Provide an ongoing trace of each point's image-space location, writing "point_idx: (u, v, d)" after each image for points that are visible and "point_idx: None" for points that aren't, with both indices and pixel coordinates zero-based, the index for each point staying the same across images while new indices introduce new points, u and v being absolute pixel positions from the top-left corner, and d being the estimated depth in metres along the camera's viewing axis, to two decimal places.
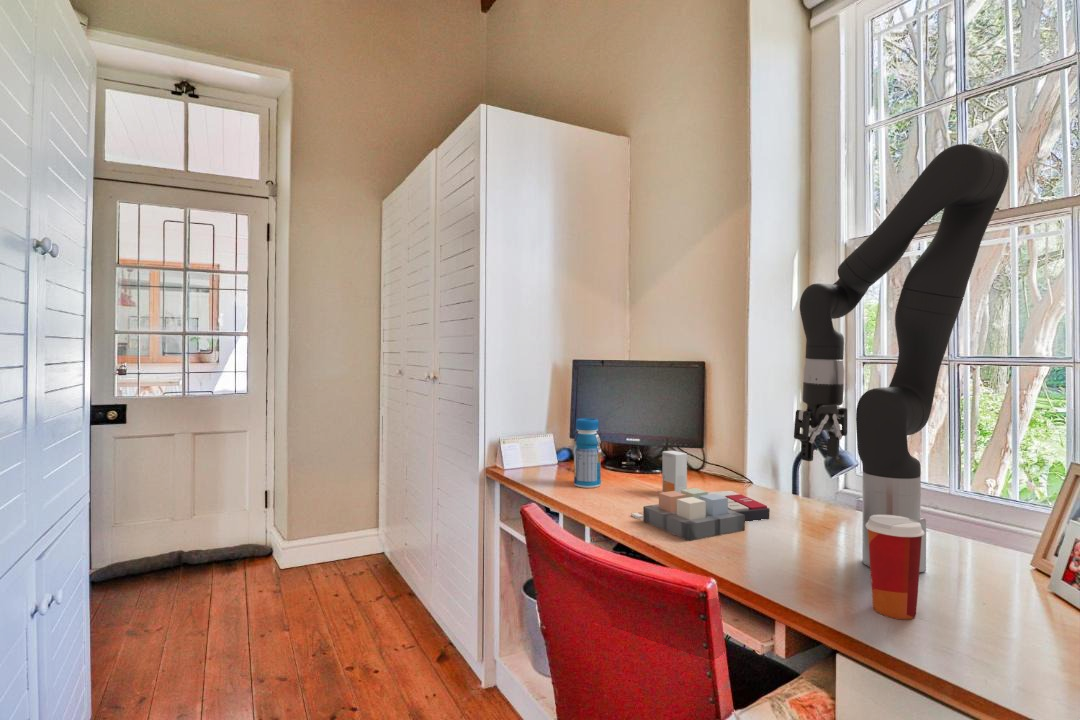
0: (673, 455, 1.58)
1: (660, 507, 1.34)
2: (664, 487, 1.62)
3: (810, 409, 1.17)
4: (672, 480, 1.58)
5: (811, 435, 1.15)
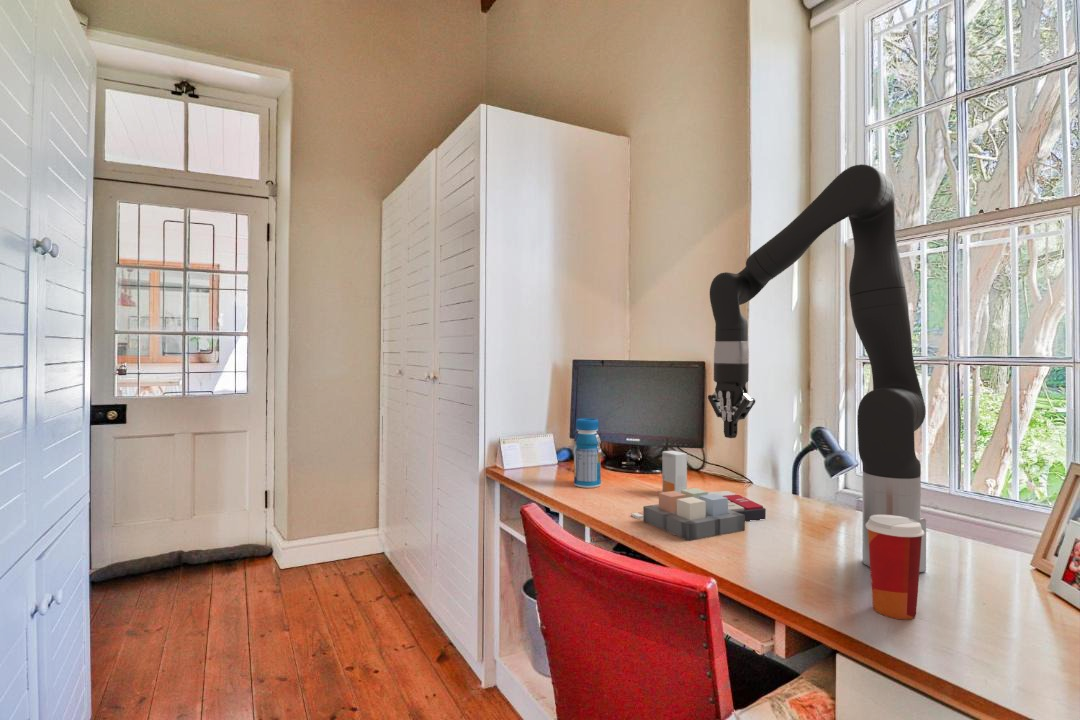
0: (673, 455, 1.58)
1: (660, 507, 1.34)
2: (664, 487, 1.62)
3: (742, 387, 1.27)
4: (672, 480, 1.58)
5: None
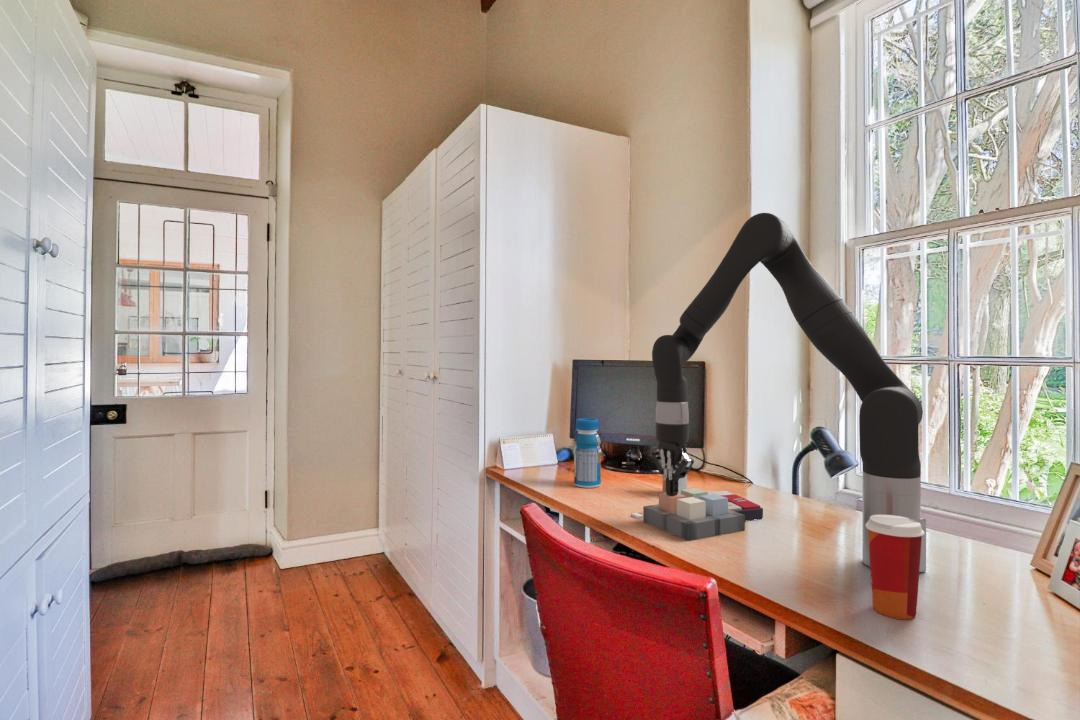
0: None
1: (660, 508, 1.34)
2: (664, 487, 1.62)
3: (682, 447, 1.30)
4: None
5: None
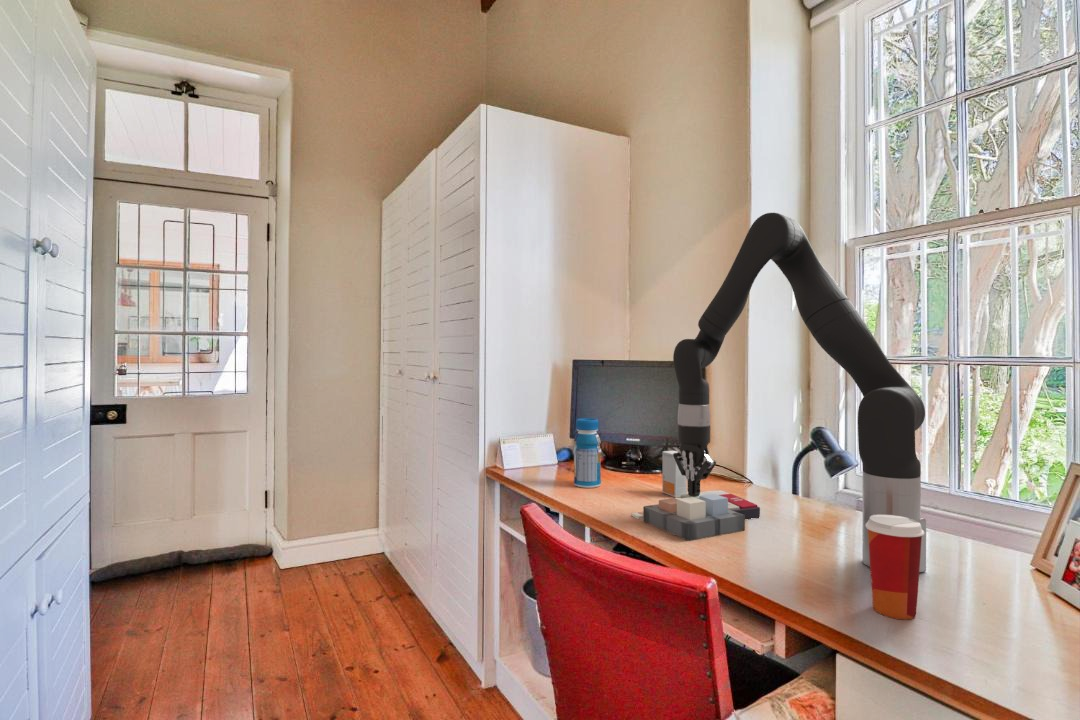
0: None
1: None
2: (664, 487, 1.62)
3: (704, 449, 1.33)
4: (672, 480, 1.58)
5: None
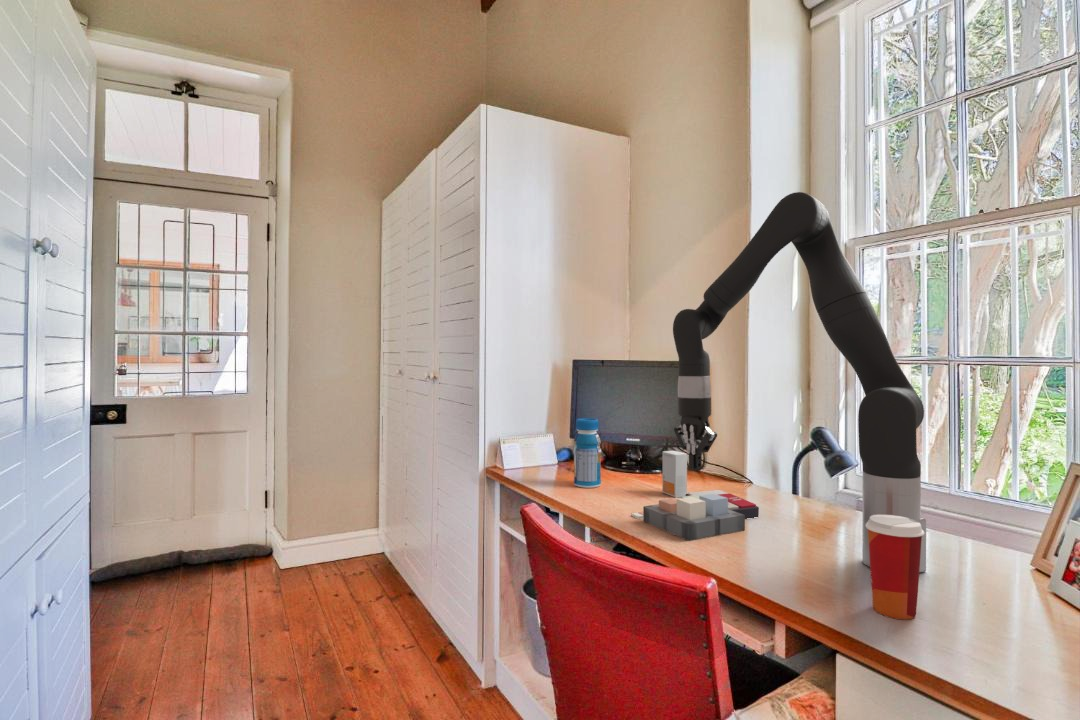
0: (673, 455, 1.58)
1: None
2: (664, 487, 1.62)
3: (705, 421, 1.29)
4: (672, 480, 1.58)
5: None
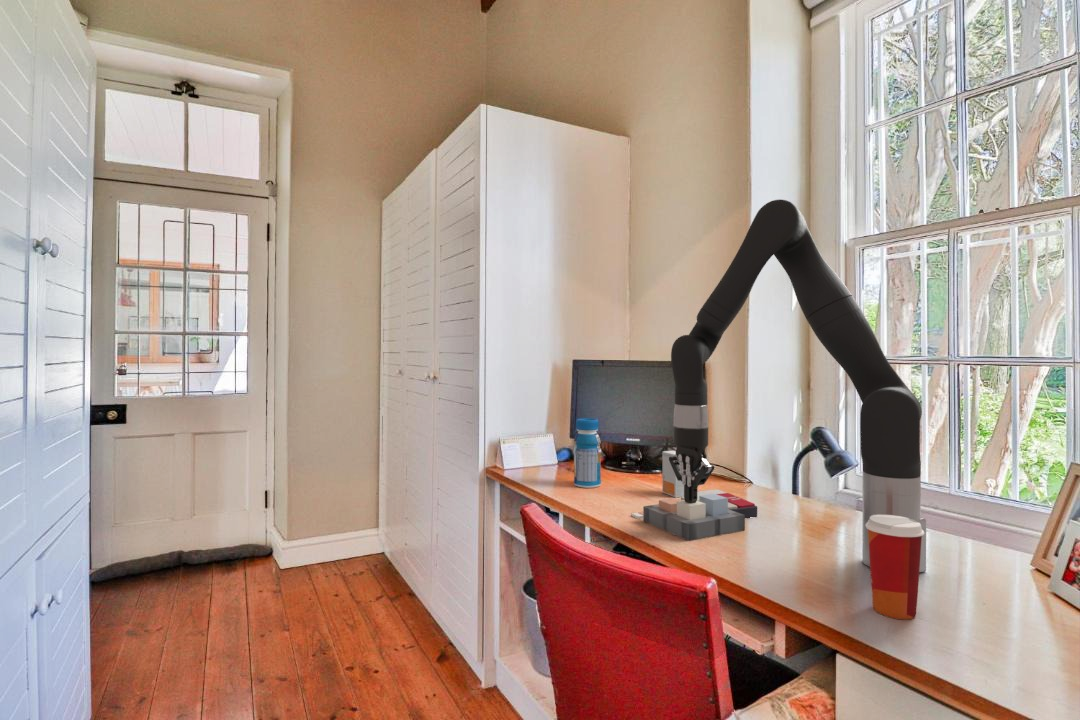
0: (673, 455, 1.58)
1: None
2: (664, 487, 1.62)
3: (701, 453, 1.24)
4: (672, 480, 1.58)
5: None
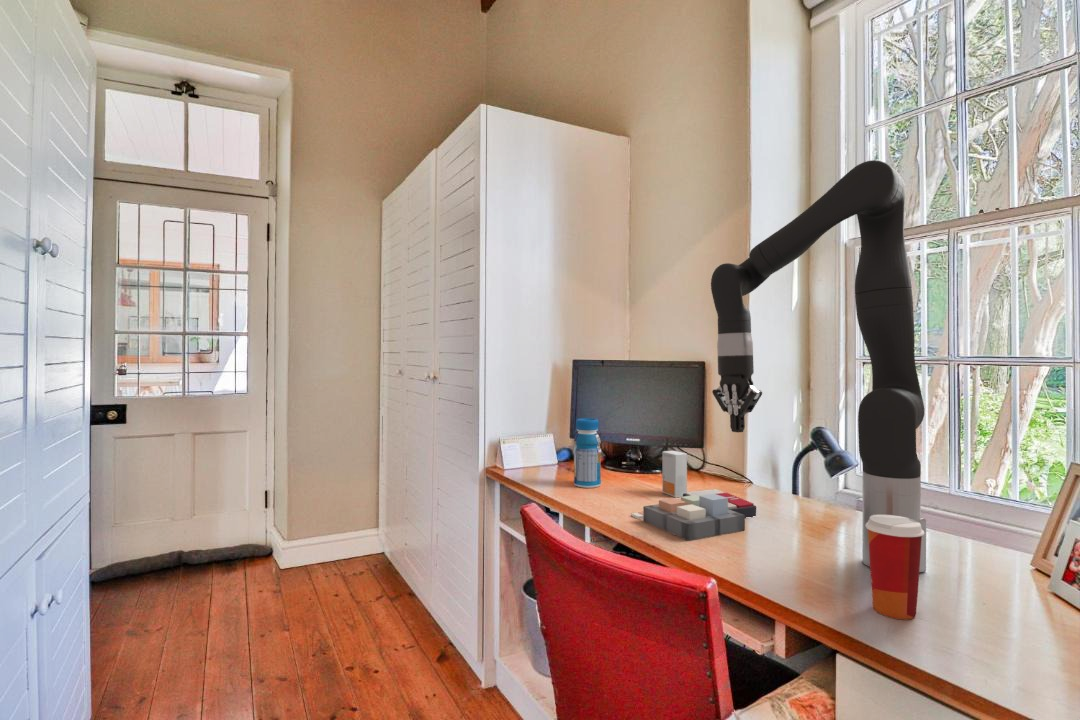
0: (673, 455, 1.58)
1: None
2: (664, 487, 1.62)
3: (748, 379, 1.24)
4: (672, 480, 1.58)
5: None
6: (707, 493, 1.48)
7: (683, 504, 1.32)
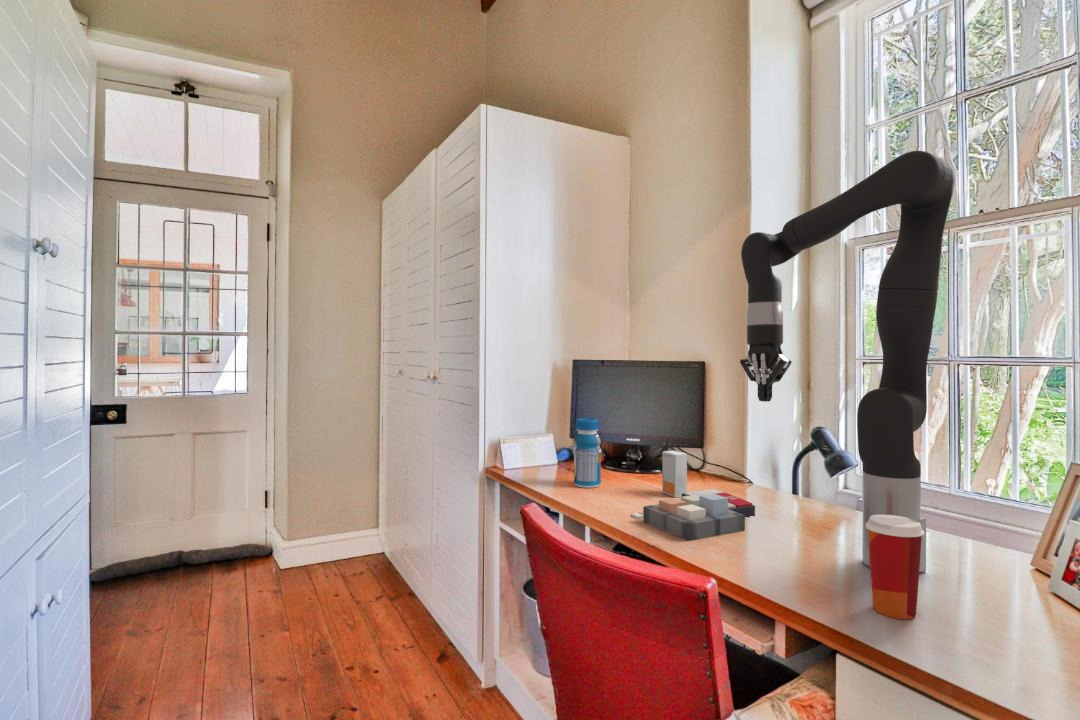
0: (673, 455, 1.58)
1: None
2: (664, 487, 1.62)
3: (777, 349, 1.24)
4: (672, 480, 1.58)
5: None
6: (706, 493, 1.48)
7: (683, 504, 1.32)
